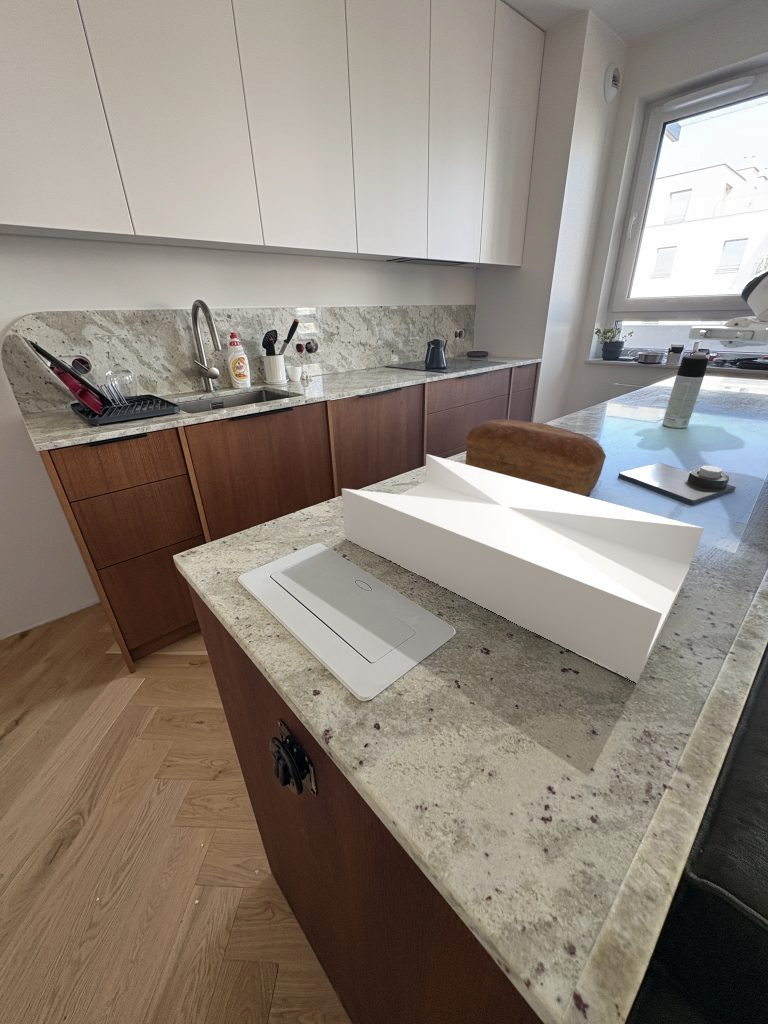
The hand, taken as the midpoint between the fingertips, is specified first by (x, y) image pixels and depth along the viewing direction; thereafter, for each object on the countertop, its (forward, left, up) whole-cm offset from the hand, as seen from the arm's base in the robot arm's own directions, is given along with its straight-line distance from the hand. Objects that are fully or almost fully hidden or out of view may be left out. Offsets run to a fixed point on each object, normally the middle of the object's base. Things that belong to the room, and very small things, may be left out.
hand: (719, 335), depth 123 cm
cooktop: (-30, +56, -25) cm, 68 cm away
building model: (-36, +108, -25) cm, 117 cm away
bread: (-14, +82, -25) cm, 87 cm away
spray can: (-2, +12, -25) cm, 28 cm away
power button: (-34, +52, -23) cm, 66 cm away
